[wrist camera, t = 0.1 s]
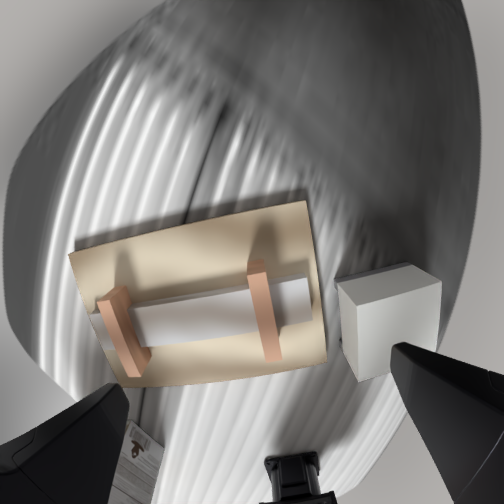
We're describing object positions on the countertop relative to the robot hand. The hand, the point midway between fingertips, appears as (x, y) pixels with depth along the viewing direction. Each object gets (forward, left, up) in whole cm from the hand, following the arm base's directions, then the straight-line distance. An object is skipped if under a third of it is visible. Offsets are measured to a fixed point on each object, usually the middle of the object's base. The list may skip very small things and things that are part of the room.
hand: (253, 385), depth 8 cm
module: (-6, -10, -15) cm, 19 cm away
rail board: (-3, +5, -14) cm, 16 cm away
